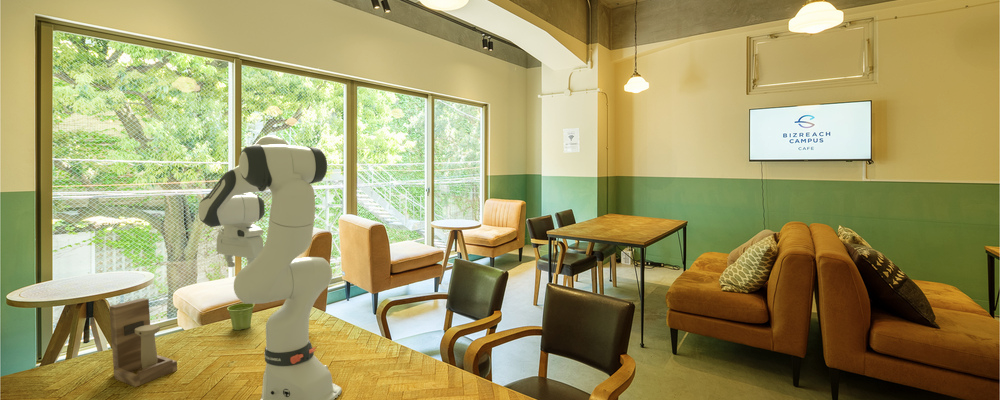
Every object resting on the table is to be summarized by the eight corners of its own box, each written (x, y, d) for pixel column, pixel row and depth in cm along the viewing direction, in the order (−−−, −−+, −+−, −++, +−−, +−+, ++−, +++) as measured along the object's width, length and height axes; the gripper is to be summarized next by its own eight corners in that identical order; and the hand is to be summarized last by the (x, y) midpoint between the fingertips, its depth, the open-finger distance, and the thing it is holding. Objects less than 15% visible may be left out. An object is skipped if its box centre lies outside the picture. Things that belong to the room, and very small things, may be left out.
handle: (148, 369, 138) (145, 324, 137) (166, 371, 137) (163, 325, 136) (133, 377, 133) (130, 330, 132) (152, 378, 132) (149, 331, 131)
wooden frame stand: (177, 370, 138) (173, 303, 136) (135, 386, 128) (130, 314, 126) (151, 361, 144) (147, 296, 142) (109, 376, 133) (104, 307, 131)
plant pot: (237, 322, 178) (237, 302, 178) (260, 323, 178) (259, 303, 177) (222, 331, 169) (221, 310, 168) (246, 332, 169) (245, 310, 168)
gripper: (210, 228, 153) (212, 267, 154) (249, 233, 145) (251, 273, 146) (227, 226, 159) (229, 263, 160) (266, 230, 150) (267, 269, 151)
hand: (240, 268), depth 153 cm, fingers open, 8 cm apart
